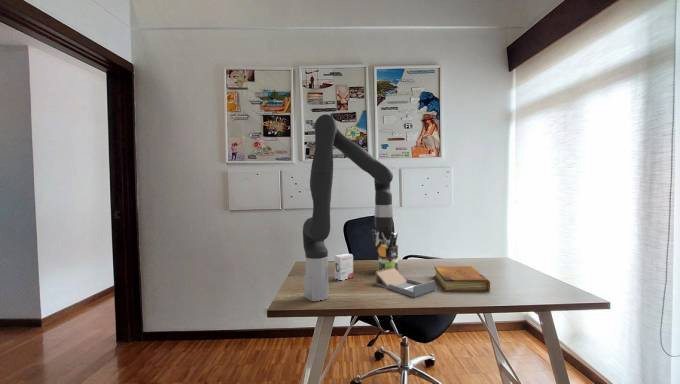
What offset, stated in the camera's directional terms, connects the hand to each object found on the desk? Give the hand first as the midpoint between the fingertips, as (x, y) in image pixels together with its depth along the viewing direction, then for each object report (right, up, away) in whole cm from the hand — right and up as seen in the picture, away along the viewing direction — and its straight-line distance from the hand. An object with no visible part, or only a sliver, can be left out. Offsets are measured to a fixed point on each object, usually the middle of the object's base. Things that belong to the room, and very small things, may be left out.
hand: (383, 255), depth 139 cm
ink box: (-16, -16, +24) cm, 34 cm away
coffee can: (+7, -16, +35) cm, 39 cm away
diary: (+37, -16, +14) cm, 43 cm away
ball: (0, +2, 0) cm, 2 cm away
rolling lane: (+10, -16, +9) cm, 21 cm away
